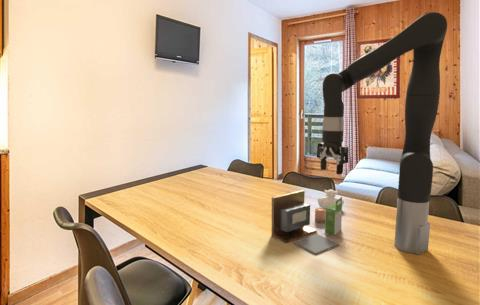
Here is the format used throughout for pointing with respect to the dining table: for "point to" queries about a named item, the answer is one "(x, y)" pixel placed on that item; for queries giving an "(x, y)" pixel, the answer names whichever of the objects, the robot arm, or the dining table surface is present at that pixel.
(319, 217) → the brown egg
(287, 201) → the open brown box
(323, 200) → the bust
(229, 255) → the dining table surface
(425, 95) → the robot arm
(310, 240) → the mat
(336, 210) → the ink box
